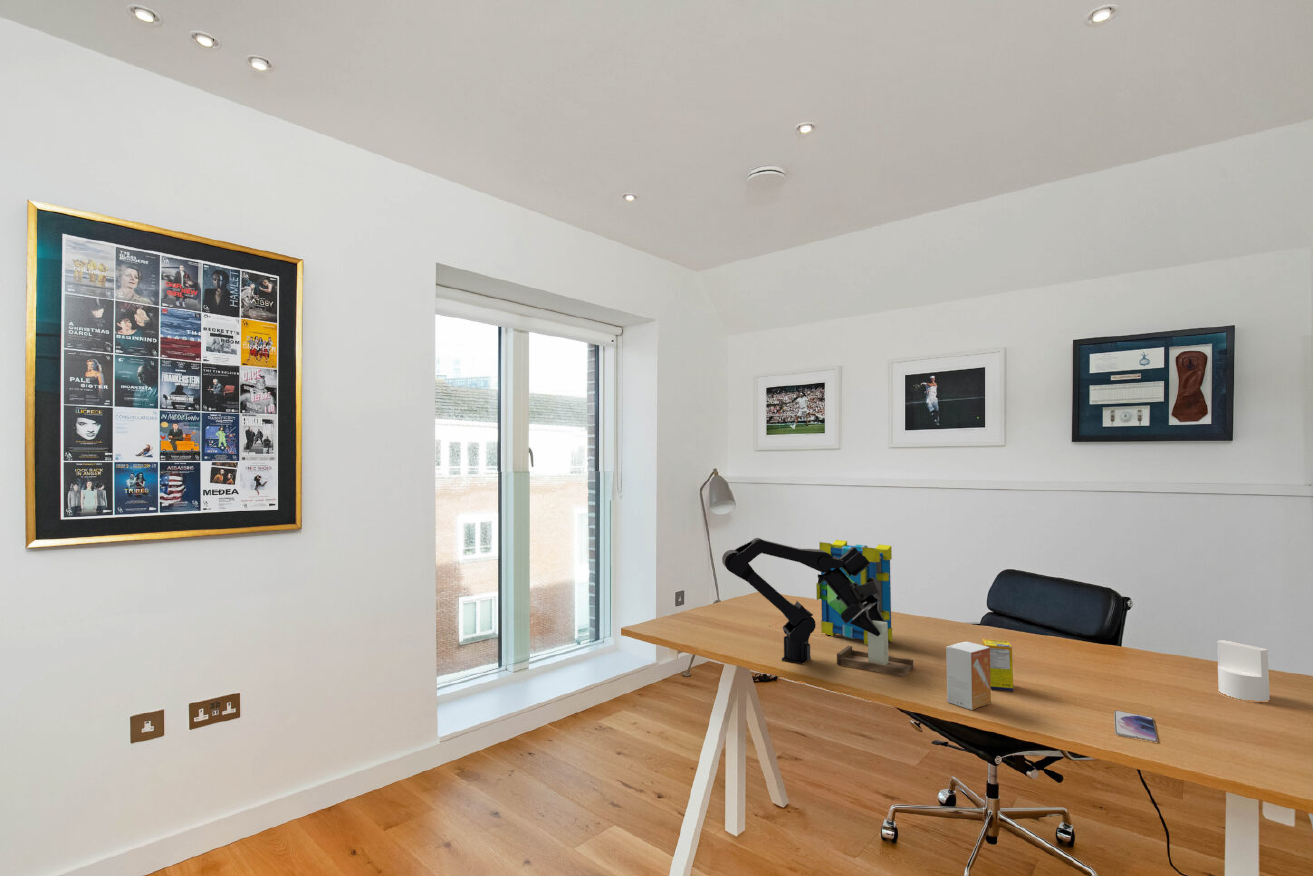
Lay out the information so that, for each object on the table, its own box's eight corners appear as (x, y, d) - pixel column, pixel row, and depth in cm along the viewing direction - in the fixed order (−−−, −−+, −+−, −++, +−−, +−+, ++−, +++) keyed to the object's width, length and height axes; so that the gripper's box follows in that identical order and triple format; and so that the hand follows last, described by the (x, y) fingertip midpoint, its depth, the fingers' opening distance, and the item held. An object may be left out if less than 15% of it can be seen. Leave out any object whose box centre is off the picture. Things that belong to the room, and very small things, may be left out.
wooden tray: (836, 664, 177) (836, 653, 177) (848, 656, 185) (848, 645, 185) (904, 677, 166) (904, 665, 166) (913, 667, 174) (913, 656, 174)
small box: (972, 711, 143) (971, 652, 144) (946, 702, 149) (945, 645, 149) (992, 703, 148) (990, 646, 148) (966, 695, 153) (964, 640, 154)
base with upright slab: (1210, 692, 154) (1208, 642, 155) (1231, 687, 158) (1229, 638, 159) (1257, 705, 146) (1255, 652, 147) (1278, 699, 150) (1275, 648, 150)
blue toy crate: (838, 627, 217) (837, 539, 218) (902, 642, 199) (900, 545, 200) (813, 634, 208) (811, 542, 209) (877, 650, 190) (875, 549, 191)
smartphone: (1153, 717, 139) (1158, 742, 126) (1153, 721, 139) (1158, 746, 126) (1113, 709, 143) (1114, 732, 130) (1113, 713, 143) (1114, 737, 130)
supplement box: (1009, 684, 161) (1007, 640, 161) (1013, 692, 155) (1012, 646, 156) (982, 681, 163) (981, 638, 163) (986, 689, 157) (985, 644, 158)
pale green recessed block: (868, 664, 174) (867, 624, 175) (873, 660, 178) (872, 620, 179) (883, 667, 172) (882, 626, 172) (888, 662, 176) (887, 622, 176)
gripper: (851, 573, 171) (895, 621, 164) (872, 564, 186) (913, 607, 179) (823, 599, 175) (864, 647, 168) (846, 588, 190) (884, 631, 183)
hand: (883, 632), depth 174 cm, fingers open, 7 cm apart
